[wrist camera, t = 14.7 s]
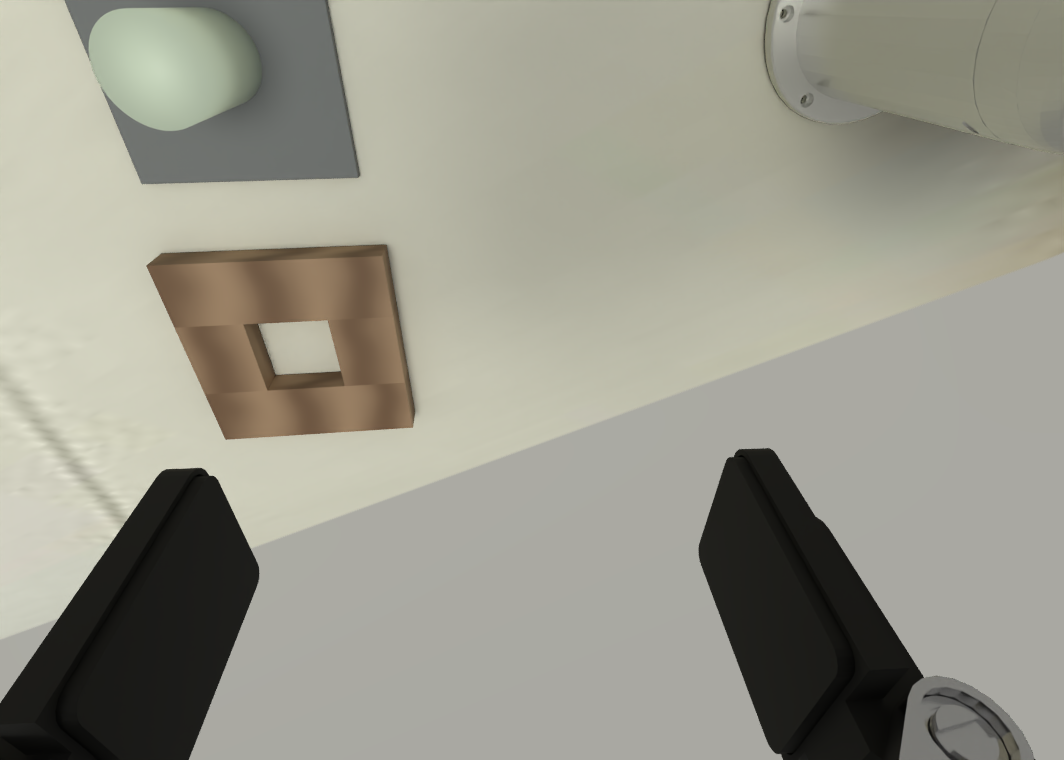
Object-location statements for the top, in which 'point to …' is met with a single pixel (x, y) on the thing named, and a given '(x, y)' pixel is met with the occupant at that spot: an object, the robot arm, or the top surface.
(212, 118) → the rubber pad
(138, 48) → the sage peg
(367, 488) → the top surface
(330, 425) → the pocket block
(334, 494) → the top surface
